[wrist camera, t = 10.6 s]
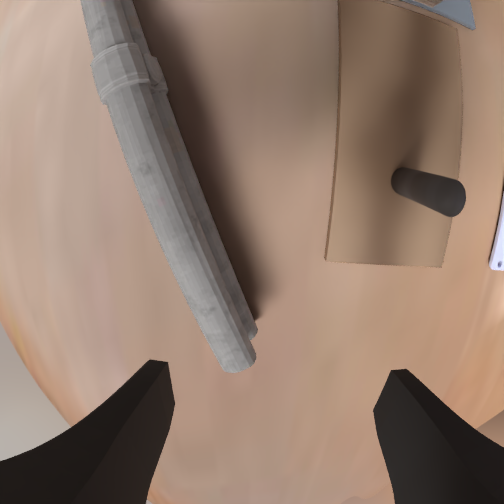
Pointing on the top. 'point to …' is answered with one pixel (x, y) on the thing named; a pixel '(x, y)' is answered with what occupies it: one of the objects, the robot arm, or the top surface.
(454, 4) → the rubber mat
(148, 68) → the metal rod assembly
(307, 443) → the top surface
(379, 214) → the post stand
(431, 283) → the top surface
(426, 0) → the steel link
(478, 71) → the top surface
